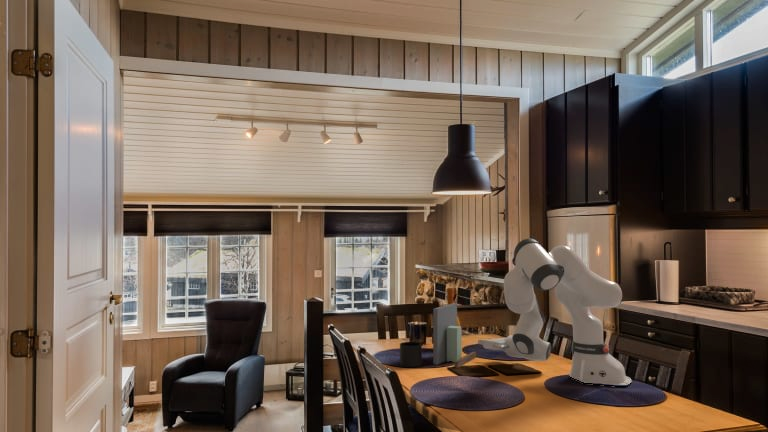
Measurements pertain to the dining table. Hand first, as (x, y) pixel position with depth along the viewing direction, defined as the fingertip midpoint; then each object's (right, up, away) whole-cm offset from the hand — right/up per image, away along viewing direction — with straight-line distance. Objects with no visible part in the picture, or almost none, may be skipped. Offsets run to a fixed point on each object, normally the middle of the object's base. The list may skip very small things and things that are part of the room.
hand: (483, 341), depth 234 cm
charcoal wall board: (-12, -9, +2) cm, 16 cm away
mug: (-33, -9, -4) cm, 35 cm away
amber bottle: (-11, -11, +27) cm, 31 cm away
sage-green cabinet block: (-13, -9, +3) cm, 16 cm away
